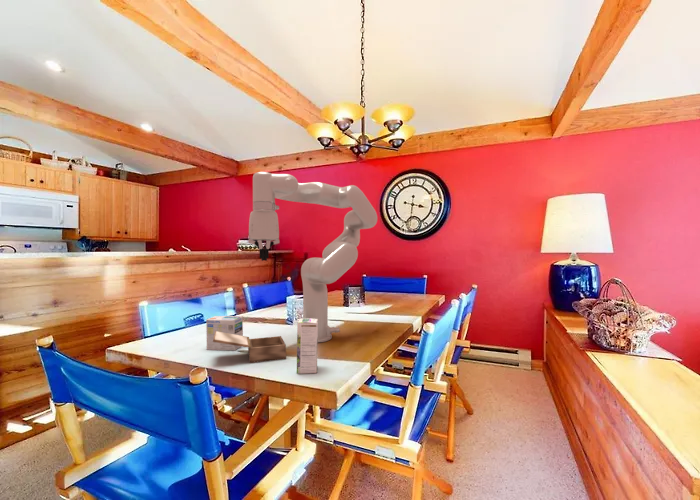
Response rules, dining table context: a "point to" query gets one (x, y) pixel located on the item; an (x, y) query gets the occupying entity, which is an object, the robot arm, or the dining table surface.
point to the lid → (231, 339)
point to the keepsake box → (267, 349)
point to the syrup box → (307, 345)
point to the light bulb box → (223, 330)
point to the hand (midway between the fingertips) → (264, 260)
